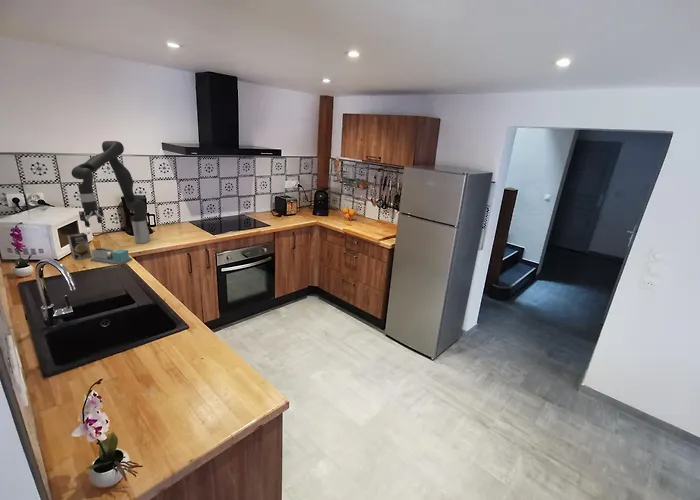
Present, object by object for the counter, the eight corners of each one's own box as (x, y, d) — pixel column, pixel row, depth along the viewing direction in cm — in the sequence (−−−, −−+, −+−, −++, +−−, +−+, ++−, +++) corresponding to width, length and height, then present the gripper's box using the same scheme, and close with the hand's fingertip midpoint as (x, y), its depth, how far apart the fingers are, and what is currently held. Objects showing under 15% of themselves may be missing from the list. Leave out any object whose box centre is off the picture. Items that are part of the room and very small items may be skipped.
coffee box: (75, 260, 223) (70, 237, 218) (72, 258, 227) (66, 235, 221) (92, 257, 230) (87, 234, 224) (88, 254, 234) (83, 232, 228)
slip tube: (95, 256, 226) (91, 240, 222) (99, 254, 229) (96, 239, 226) (111, 258, 224) (108, 243, 220) (115, 256, 227) (112, 241, 223)
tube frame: (90, 261, 224) (88, 250, 221) (104, 255, 233) (101, 245, 231) (119, 265, 220) (117, 254, 217) (131, 259, 229) (130, 249, 227)
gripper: (93, 197, 221) (98, 221, 227) (72, 202, 208) (78, 227, 214) (103, 198, 220) (108, 222, 226) (82, 203, 207) (88, 228, 213)
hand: (94, 224), depth 220 cm, fingers open, 8 cm apart
